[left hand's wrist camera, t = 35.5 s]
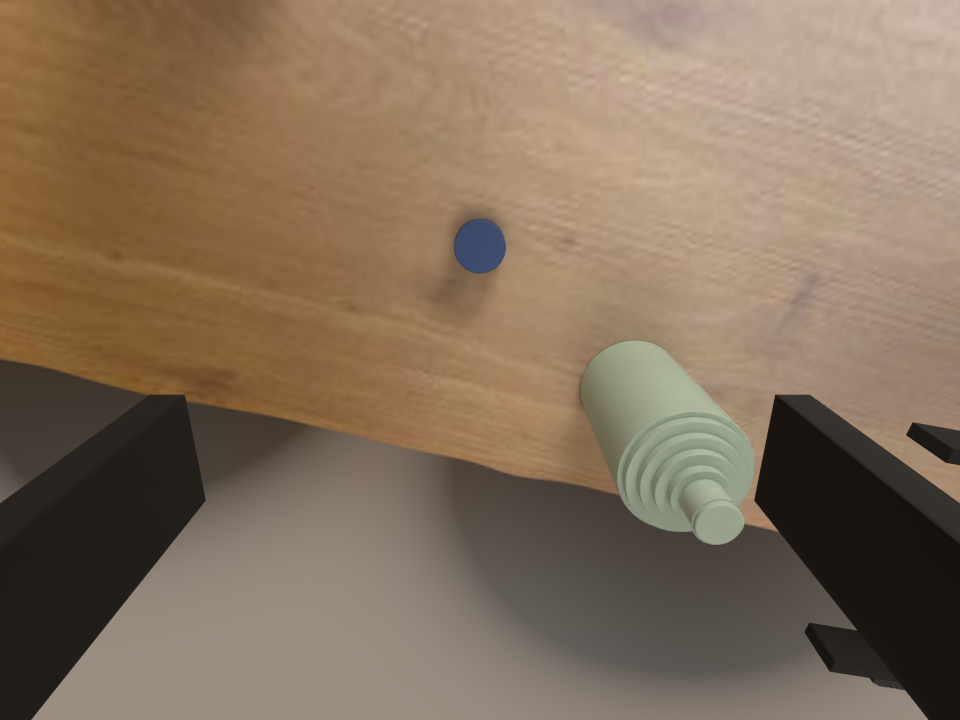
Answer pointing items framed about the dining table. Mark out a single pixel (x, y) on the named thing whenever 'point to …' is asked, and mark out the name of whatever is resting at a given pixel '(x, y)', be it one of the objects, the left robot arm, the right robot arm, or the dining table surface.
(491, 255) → the cap
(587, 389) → the bottle
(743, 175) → the dining table surface
